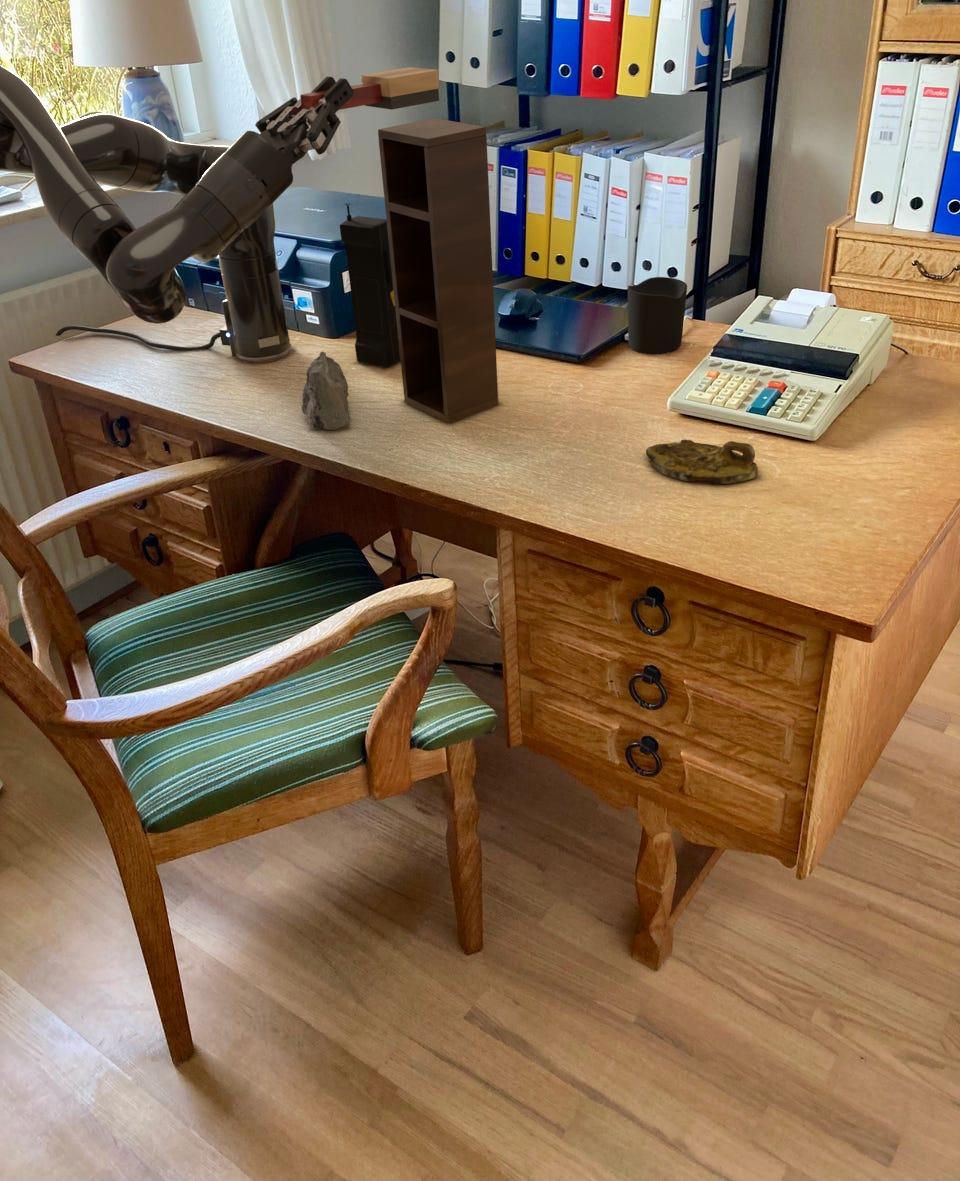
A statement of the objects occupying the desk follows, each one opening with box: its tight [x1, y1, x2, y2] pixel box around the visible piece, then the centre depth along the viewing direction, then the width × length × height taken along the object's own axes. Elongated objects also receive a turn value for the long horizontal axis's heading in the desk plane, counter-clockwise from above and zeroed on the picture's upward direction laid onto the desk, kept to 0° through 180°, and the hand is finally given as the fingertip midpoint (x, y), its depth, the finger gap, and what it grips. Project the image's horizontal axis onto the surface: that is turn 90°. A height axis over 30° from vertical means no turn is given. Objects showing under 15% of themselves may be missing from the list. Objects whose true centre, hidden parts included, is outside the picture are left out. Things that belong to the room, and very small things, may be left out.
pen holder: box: [627, 276, 688, 355], centre depth 167 cm, size 9×9×10 cm
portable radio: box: [339, 203, 401, 368], centre depth 164 cm, size 8×6×25 cm
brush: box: [299, 66, 440, 114], centre depth 126 cm, size 6×18×4 cm, turn 129°
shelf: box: [377, 117, 499, 425], centre depth 144 cm, size 11×10×39 cm
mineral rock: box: [301, 351, 351, 431], centre depth 152 cm, size 13×11×10 cm
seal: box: [645, 439, 758, 485], centre depth 133 cm, size 9×5×15 cm
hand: (341, 84), depth 123 cm, fingers closed on brush, 2 cm apart
